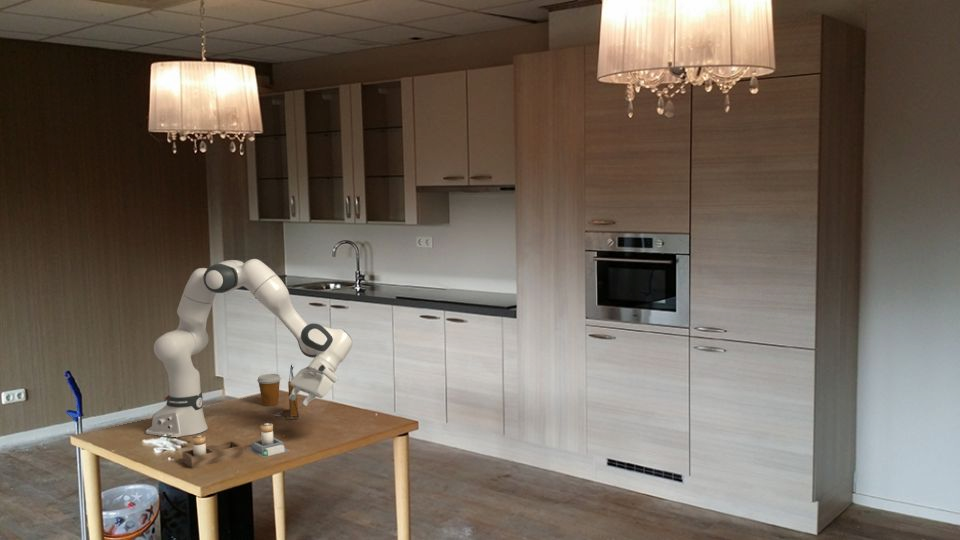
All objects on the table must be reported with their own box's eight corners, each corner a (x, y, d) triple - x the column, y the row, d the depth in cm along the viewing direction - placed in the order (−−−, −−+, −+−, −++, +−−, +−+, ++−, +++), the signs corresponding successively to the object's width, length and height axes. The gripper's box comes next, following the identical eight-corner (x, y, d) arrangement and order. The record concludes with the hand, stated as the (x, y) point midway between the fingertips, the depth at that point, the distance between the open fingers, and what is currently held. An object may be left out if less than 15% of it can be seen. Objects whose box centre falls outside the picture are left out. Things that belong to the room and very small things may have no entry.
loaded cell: (191, 463, 277) (189, 437, 276) (198, 459, 281) (197, 433, 280) (202, 464, 276) (200, 438, 275) (209, 460, 280) (207, 434, 279)
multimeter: (270, 412, 341) (267, 364, 339) (295, 410, 344) (293, 361, 342) (273, 422, 327) (270, 371, 325) (299, 419, 330) (296, 369, 328)
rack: (192, 471, 273) (191, 458, 273) (183, 465, 280) (182, 451, 279) (244, 459, 284) (243, 446, 283) (233, 453, 290) (233, 440, 290)
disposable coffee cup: (286, 403, 354) (285, 375, 353) (267, 408, 347) (265, 380, 346) (273, 400, 361) (271, 372, 359) (254, 405, 354) (252, 376, 352)
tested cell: (259, 450, 289) (258, 425, 288) (265, 447, 293) (264, 421, 292) (270, 451, 288) (268, 425, 287) (276, 447, 292) (274, 422, 291)
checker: (263, 460, 282) (262, 450, 282) (245, 450, 293) (245, 440, 293) (290, 453, 288) (290, 443, 288) (272, 444, 299) (272, 434, 299)
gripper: (301, 360, 308) (277, 391, 303) (328, 369, 292) (304, 402, 287) (312, 370, 311) (289, 401, 306) (340, 379, 295) (316, 412, 290)
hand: (297, 402), depth 296 cm, fingers open, 8 cm apart
